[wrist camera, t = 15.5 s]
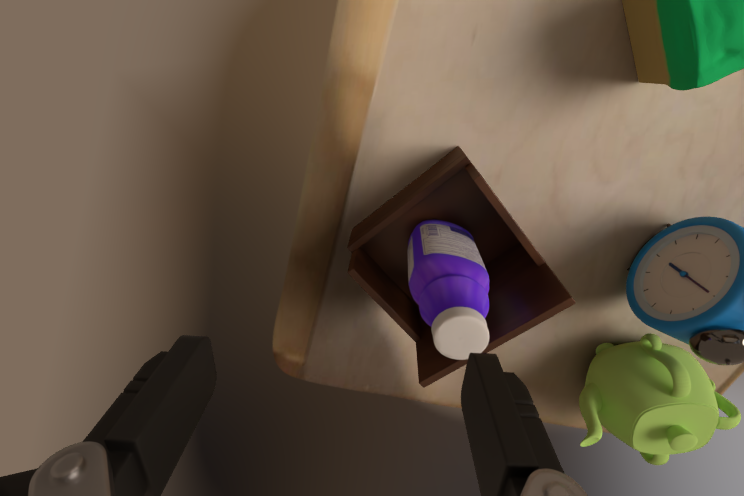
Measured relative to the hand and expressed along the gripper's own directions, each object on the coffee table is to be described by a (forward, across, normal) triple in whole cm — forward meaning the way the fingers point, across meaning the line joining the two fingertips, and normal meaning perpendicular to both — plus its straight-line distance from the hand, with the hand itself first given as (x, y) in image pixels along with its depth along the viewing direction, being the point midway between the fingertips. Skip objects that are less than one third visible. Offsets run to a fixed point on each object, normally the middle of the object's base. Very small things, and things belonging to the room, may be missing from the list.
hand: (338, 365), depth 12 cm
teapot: (+34, -37, +29) cm, 58 cm away
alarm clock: (+34, -36, +11) cm, 51 cm away
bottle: (+30, -8, +10) cm, 33 cm away
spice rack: (+34, -8, +10) cm, 37 cm away
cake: (+34, -29, -14) cm, 47 cm away
